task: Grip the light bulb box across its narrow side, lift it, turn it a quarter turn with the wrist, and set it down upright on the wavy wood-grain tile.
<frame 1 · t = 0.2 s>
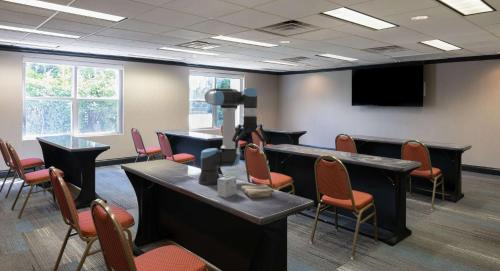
hand: (249, 153, 188), 27 cm above the table, tool pointing down, fingers open, 13 cm apart
light bulb box: (227, 195, 203), on the table
wavy wood-grain tile: (257, 194, 204), on the table
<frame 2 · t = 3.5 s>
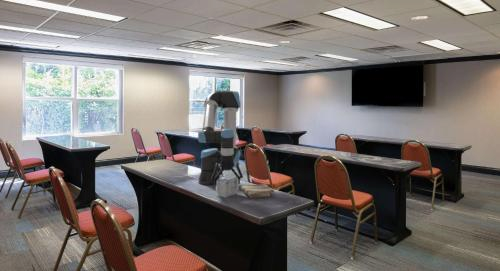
hand: (227, 190, 202), 3 cm above the table, tool pointing down, fingers closed on light bulb box, 12 cm apart
light bulb box: (227, 195, 203), on the table, touching gripper
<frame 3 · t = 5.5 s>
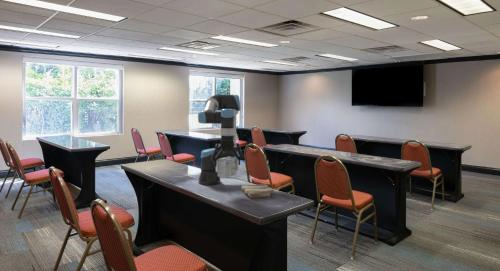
hand: (227, 170, 201), 15 cm above the table, tool pointing down, fingers closed on light bulb box, 12 cm apart
light bulb box: (227, 175, 202), point 12 cm above the table, touching gripper
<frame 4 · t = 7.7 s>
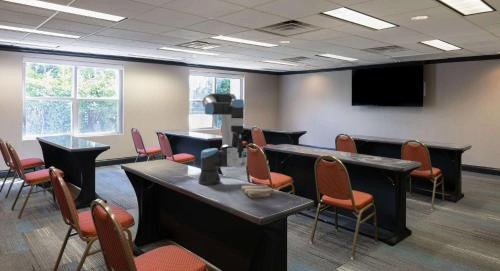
hand: (237, 161, 201), 21 cm above the table, tool pointing down, fingers closed on light bulb box, 12 cm apart
light bulb box: (236, 166, 201), point 17 cm above the table, touching gripper
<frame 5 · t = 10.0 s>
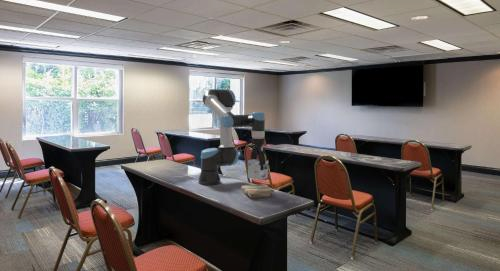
hand: (257, 173, 203), 13 cm above the table, tool pointing down, fingers closed on light bulb box, 12 cm apart
light bulb box: (257, 178, 203), point 10 cm above the table, touching gripper
when the fingers open (8 cm above the table, at t = 12.0 s): light bulb box drops 1 cm, resting on wavy wood-grain tile.
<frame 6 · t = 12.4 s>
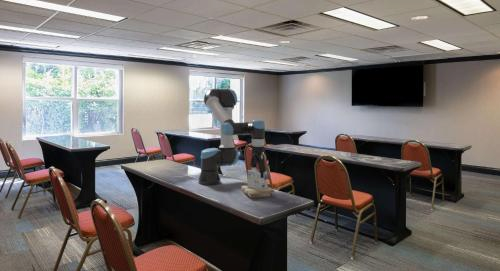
hand: (257, 180, 204), 9 cm above the table, tool pointing down, fingers open, 13 cm apart
light bulb box: (257, 188, 204), point 4 cm above the table, touching wavy wood-grain tile
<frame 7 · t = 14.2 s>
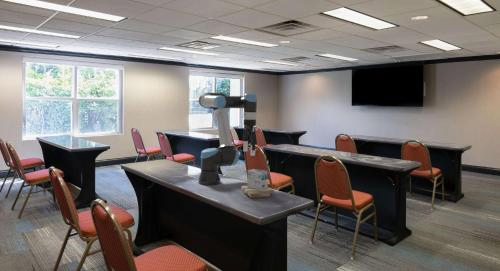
hand: (248, 153, 206), 24 cm above the table, tool pointing down, fingers open, 13 cm apart
nothing on the table moved.
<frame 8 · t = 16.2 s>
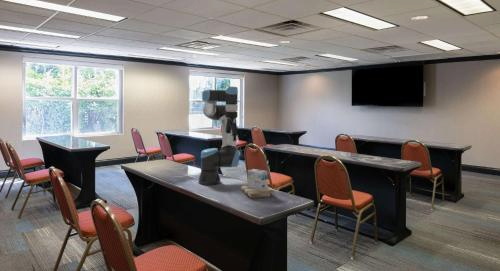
hand: (231, 144, 214), 29 cm above the table, tool pointing down, fingers open, 13 cm apart
nothing on the table moved.
at the end: light bulb box inside the target area on the wavy wood-grain tile (0.1 cm from its centre), point 3.8 cm above the wavy wood-grain tile's base; light bulb box tilted 0°; the gripper is holding nothing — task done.
